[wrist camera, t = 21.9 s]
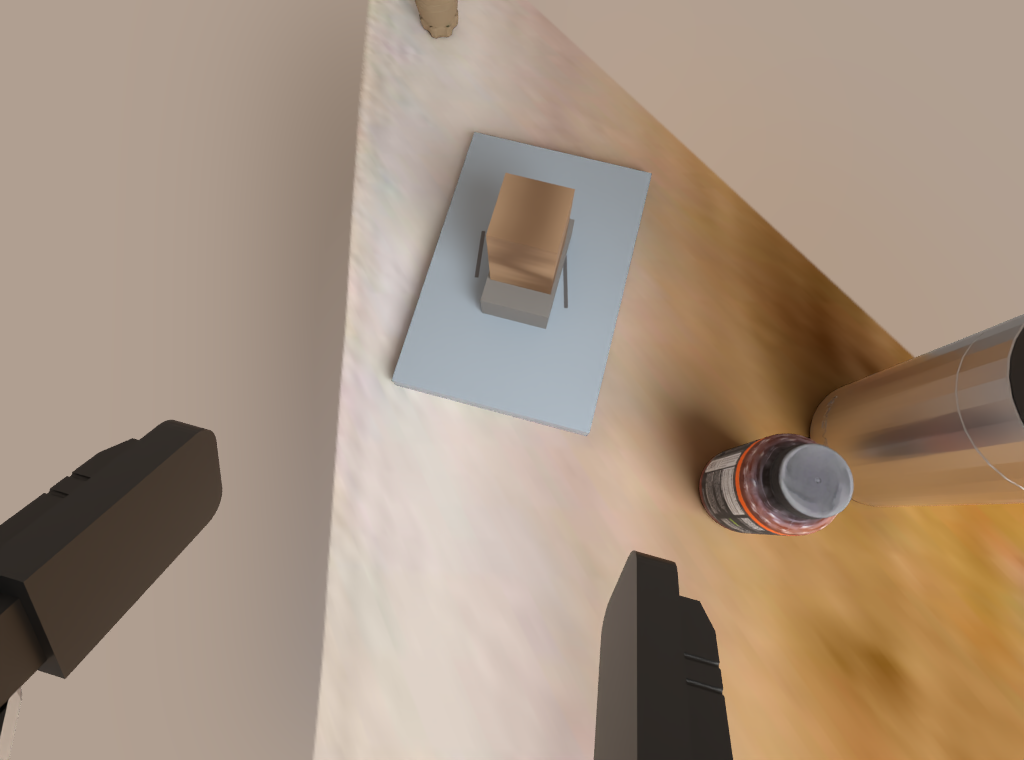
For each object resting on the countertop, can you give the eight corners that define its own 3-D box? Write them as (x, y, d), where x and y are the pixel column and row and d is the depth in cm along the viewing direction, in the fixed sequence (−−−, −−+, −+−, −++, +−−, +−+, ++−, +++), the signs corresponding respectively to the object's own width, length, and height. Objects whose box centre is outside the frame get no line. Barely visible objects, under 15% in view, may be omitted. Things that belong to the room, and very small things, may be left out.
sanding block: (571, 236, 44) (585, 166, 35) (546, 329, 42) (554, 279, 33) (510, 221, 44) (509, 148, 35) (482, 312, 42) (473, 259, 34)
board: (647, 184, 47) (651, 173, 45) (586, 436, 42) (589, 433, 40) (475, 143, 48) (474, 131, 46) (395, 384, 43) (391, 380, 41)
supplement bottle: (778, 454, 41) (874, 431, 30) (778, 537, 40) (878, 545, 29) (697, 445, 41) (763, 419, 30) (694, 527, 40) (762, 531, 29)
